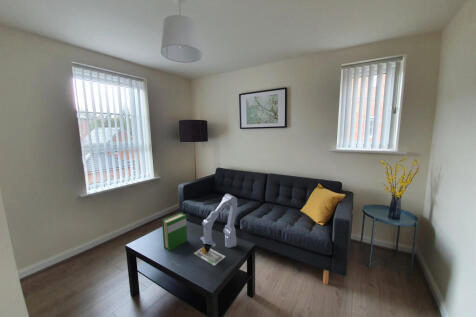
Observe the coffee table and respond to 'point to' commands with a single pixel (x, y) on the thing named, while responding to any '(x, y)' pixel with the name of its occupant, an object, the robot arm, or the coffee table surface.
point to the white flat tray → (210, 256)
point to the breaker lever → (204, 250)
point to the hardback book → (174, 231)
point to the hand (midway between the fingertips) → (208, 251)
